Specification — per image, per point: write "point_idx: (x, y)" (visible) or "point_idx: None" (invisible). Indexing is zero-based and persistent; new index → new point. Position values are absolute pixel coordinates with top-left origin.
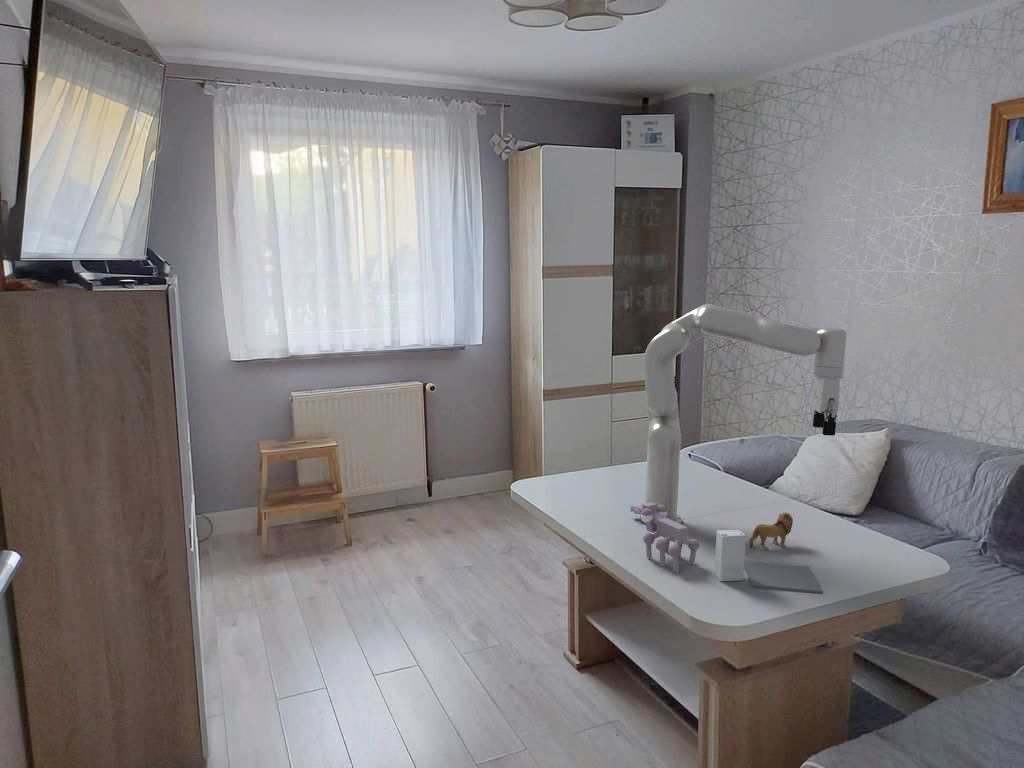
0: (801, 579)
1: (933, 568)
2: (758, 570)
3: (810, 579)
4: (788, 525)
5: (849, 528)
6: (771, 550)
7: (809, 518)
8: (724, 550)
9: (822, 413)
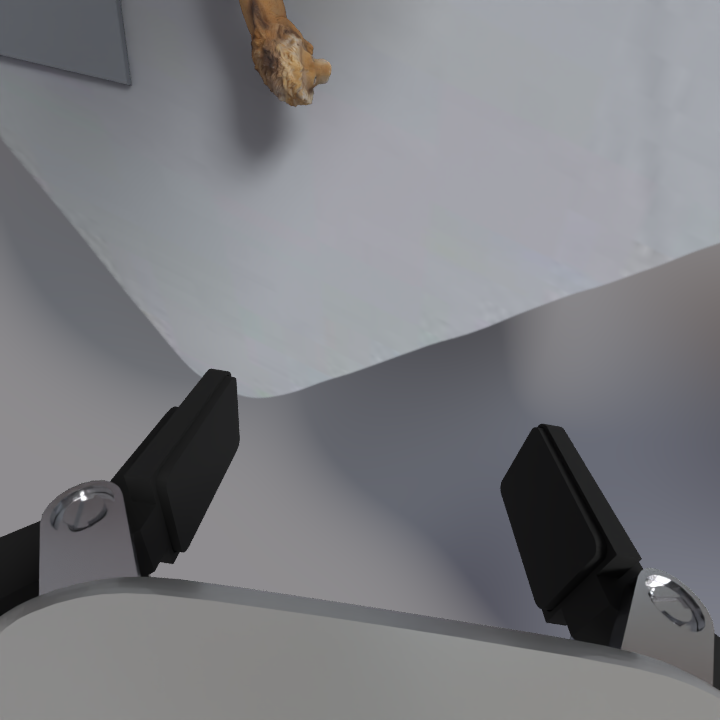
0: (21, 11)
1: None
2: None
3: (34, 46)
4: (259, 72)
5: (415, 330)
6: None
7: (496, 264)
8: None
9: (568, 616)
